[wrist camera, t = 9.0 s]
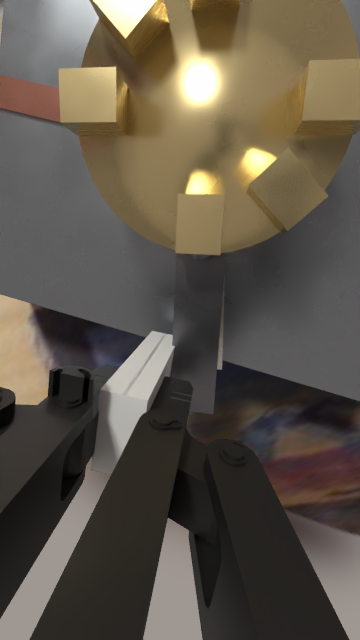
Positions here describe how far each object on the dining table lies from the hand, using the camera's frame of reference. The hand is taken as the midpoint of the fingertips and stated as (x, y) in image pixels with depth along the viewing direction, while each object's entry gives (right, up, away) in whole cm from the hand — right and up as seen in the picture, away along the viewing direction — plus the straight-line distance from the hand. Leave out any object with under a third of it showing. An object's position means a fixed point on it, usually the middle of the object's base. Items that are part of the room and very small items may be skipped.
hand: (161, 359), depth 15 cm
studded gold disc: (+2, +7, -1) cm, 7 cm away
